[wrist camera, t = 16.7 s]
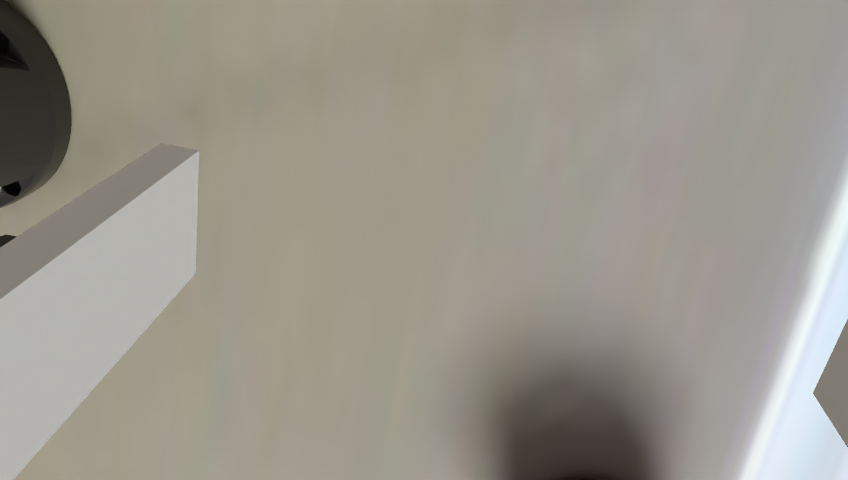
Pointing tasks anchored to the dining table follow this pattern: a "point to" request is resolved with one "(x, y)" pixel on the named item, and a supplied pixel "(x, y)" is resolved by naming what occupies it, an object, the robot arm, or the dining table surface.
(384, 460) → the dining table surface
